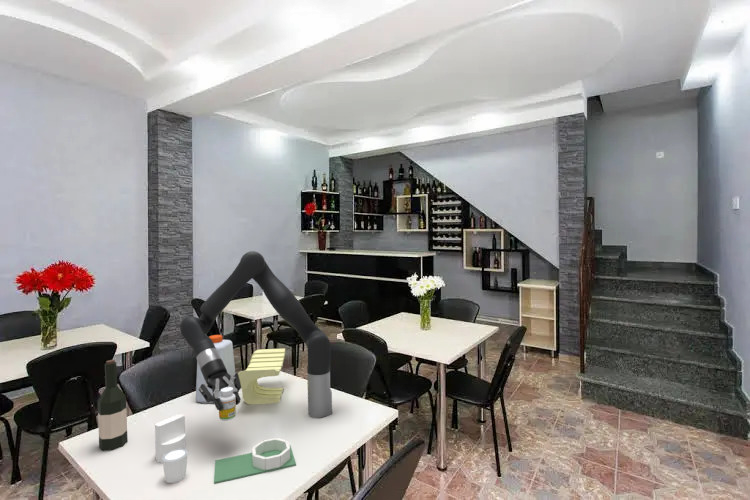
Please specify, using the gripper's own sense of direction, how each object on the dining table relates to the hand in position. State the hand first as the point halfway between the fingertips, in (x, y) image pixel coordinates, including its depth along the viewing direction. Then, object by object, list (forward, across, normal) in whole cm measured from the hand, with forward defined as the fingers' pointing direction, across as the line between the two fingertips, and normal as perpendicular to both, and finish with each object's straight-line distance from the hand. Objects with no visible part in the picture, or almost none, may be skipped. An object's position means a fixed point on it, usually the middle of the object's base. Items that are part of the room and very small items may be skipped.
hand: (230, 406), depth 128 cm
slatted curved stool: (-9, +33, +32) cm, 47 cm away
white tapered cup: (+10, -18, +12) cm, 24 cm away
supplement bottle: (+2, 0, +4) cm, 5 cm away
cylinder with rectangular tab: (+1, -13, +22) cm, 26 cm away
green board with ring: (+20, +1, +3) cm, 20 cm away
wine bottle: (-15, -23, +38) cm, 47 cm away
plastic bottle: (-22, +20, +45) cm, 54 cm away
